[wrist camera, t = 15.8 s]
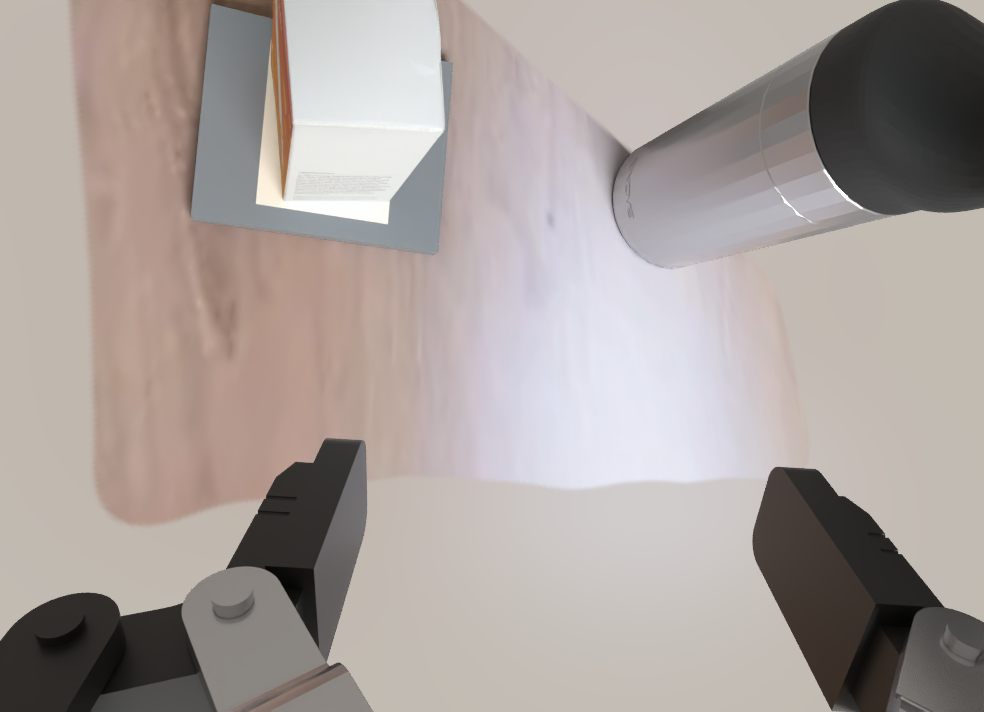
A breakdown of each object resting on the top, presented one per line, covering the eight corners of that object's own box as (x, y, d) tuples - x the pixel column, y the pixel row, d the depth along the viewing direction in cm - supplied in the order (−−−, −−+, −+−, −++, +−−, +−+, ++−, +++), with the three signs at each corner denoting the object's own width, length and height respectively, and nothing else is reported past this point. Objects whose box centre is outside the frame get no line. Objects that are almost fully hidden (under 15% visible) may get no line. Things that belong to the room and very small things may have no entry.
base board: (448, 70, 42) (453, 62, 41) (433, 254, 41) (438, 252, 40) (212, 12, 37) (211, 2, 36) (192, 220, 36) (190, 216, 35)
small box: (268, 63, 37) (273, -90, 25) (379, 71, 39) (434, -65, 27) (280, 205, 37) (290, 124, 25) (390, 205, 39) (450, 131, 27)
